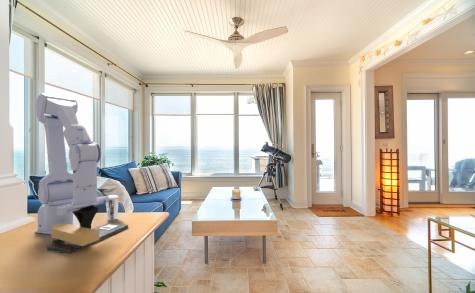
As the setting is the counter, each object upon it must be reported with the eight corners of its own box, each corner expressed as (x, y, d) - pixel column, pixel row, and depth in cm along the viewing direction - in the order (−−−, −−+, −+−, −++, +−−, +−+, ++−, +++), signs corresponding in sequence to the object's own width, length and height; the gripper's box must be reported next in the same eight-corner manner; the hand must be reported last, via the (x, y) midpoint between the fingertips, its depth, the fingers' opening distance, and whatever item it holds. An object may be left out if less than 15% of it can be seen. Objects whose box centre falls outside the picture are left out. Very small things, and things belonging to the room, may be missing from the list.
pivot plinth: (50, 242, 66) (50, 236, 66) (59, 239, 68) (59, 233, 68) (56, 243, 65) (56, 237, 65) (65, 240, 68) (65, 234, 68)
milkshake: (115, 221, 84) (115, 194, 84) (102, 221, 85) (102, 193, 86) (123, 218, 89) (123, 191, 89) (111, 217, 90) (111, 191, 90)
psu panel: (47, 250, 61) (47, 245, 61) (108, 225, 80) (108, 221, 80) (70, 253, 59) (70, 248, 59) (128, 227, 78) (128, 223, 78)
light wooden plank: (46, 235, 65) (46, 227, 65) (63, 230, 69) (63, 222, 69) (82, 246, 58) (82, 236, 58) (99, 239, 62) (99, 230, 62)
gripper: (71, 190, 58) (71, 245, 58) (116, 182, 72) (116, 226, 72) (50, 189, 60) (50, 242, 60) (98, 181, 74) (98, 224, 74)
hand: (85, 233), depth 66 cm, fingers closed, pressing on light wooden plank
